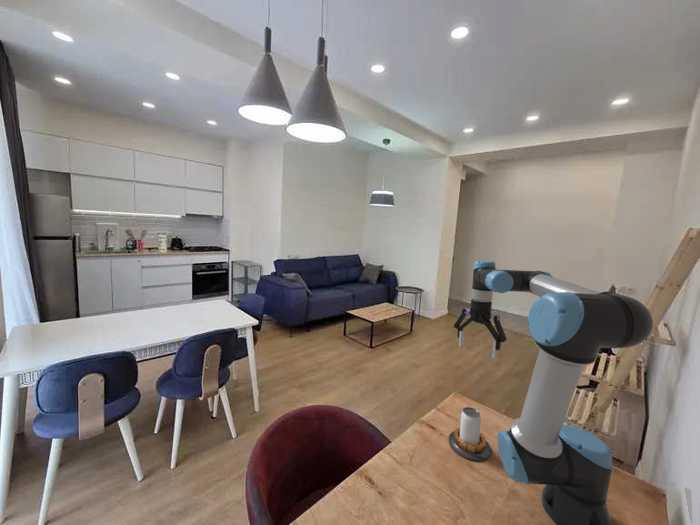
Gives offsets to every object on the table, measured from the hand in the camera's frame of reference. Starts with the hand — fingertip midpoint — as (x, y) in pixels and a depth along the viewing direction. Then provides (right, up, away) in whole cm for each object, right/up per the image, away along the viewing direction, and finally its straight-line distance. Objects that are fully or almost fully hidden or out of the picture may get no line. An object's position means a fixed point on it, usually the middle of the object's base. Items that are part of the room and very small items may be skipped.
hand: (477, 351), depth 116 cm
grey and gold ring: (-8, -30, -12) cm, 34 cm away
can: (-8, -29, -12) cm, 33 cm away
